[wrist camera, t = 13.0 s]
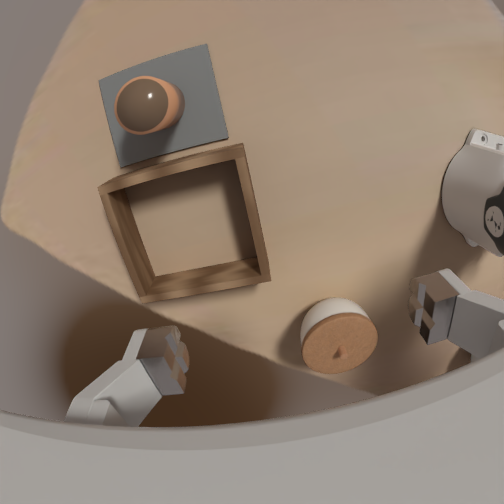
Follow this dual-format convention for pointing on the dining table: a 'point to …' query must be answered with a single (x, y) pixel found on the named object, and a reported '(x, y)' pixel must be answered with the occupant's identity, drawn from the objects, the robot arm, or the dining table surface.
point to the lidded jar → (336, 336)
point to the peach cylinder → (148, 105)
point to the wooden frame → (191, 279)
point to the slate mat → (195, 113)
